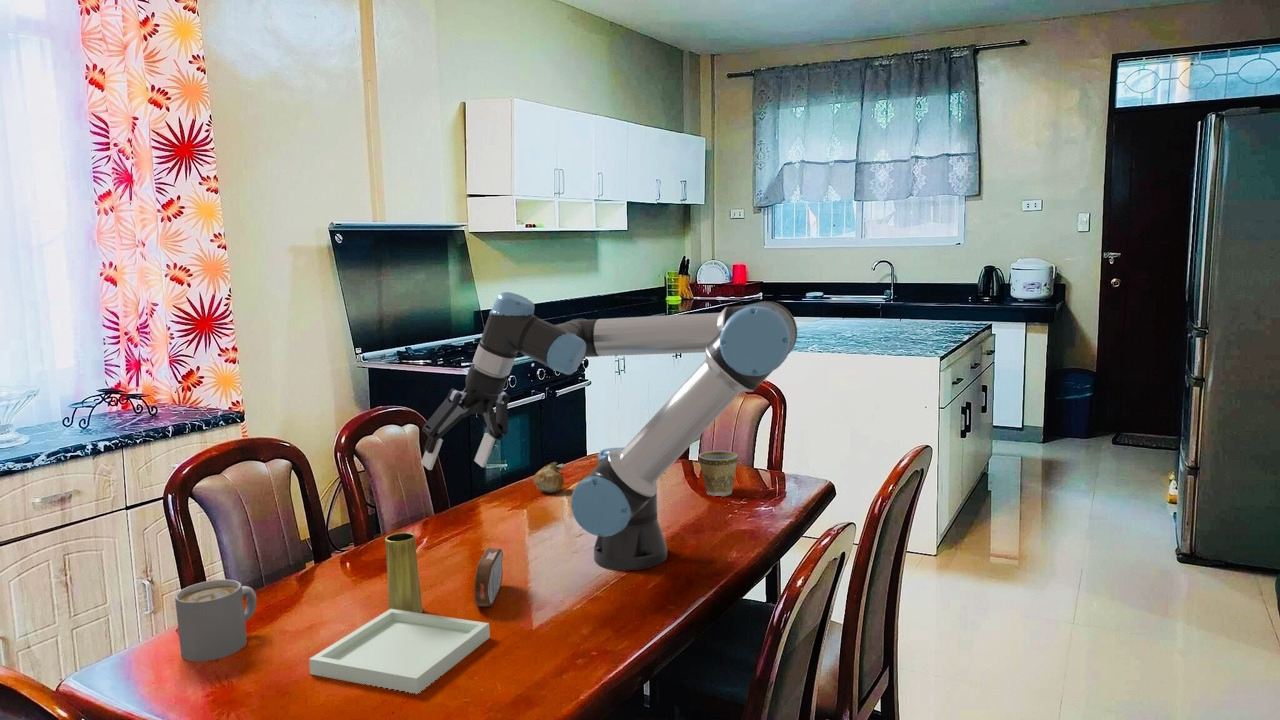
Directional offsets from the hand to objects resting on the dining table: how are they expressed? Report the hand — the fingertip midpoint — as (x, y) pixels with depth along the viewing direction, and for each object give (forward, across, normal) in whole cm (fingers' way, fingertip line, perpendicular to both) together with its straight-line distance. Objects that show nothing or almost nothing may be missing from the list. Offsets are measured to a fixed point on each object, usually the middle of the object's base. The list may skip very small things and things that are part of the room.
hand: (453, 465), depth 178 cm
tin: (+15, +2, +23) cm, 28 cm away
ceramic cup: (+2, -78, +15) cm, 80 cm away
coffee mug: (+30, +40, +5) cm, 51 cm away
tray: (+16, +26, +30) cm, 43 cm away
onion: (+21, -55, -18) cm, 62 cm away
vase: (+20, +15, +17) cm, 31 cm away
